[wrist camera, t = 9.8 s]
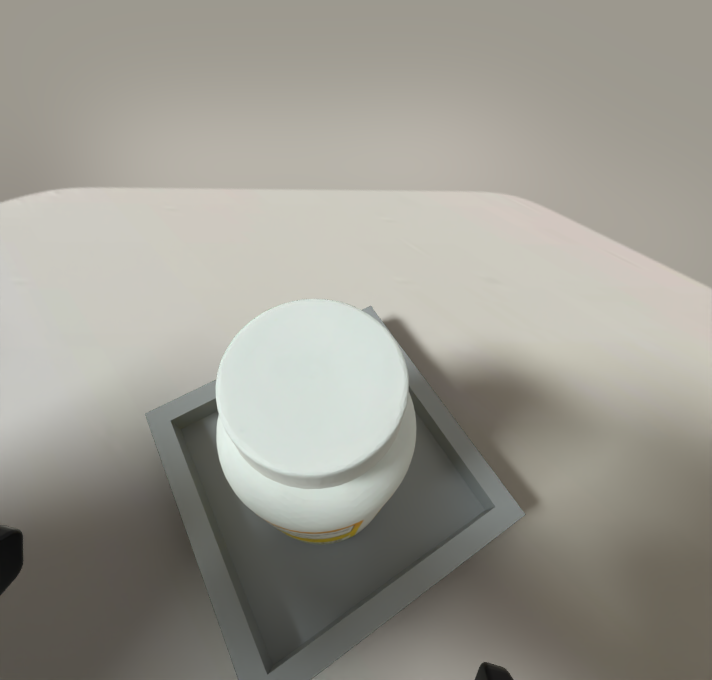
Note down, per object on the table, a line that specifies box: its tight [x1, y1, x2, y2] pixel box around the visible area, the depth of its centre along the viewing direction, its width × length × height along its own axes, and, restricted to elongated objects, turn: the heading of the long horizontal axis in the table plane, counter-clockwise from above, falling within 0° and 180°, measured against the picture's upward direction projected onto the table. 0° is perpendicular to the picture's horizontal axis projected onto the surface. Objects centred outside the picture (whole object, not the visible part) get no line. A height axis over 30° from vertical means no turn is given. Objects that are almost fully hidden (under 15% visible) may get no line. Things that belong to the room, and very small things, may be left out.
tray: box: [145, 306, 525, 680], centre depth 16 cm, size 11×11×2 cm
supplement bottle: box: [216, 299, 416, 545], centre depth 12 cm, size 5×5×10 cm
